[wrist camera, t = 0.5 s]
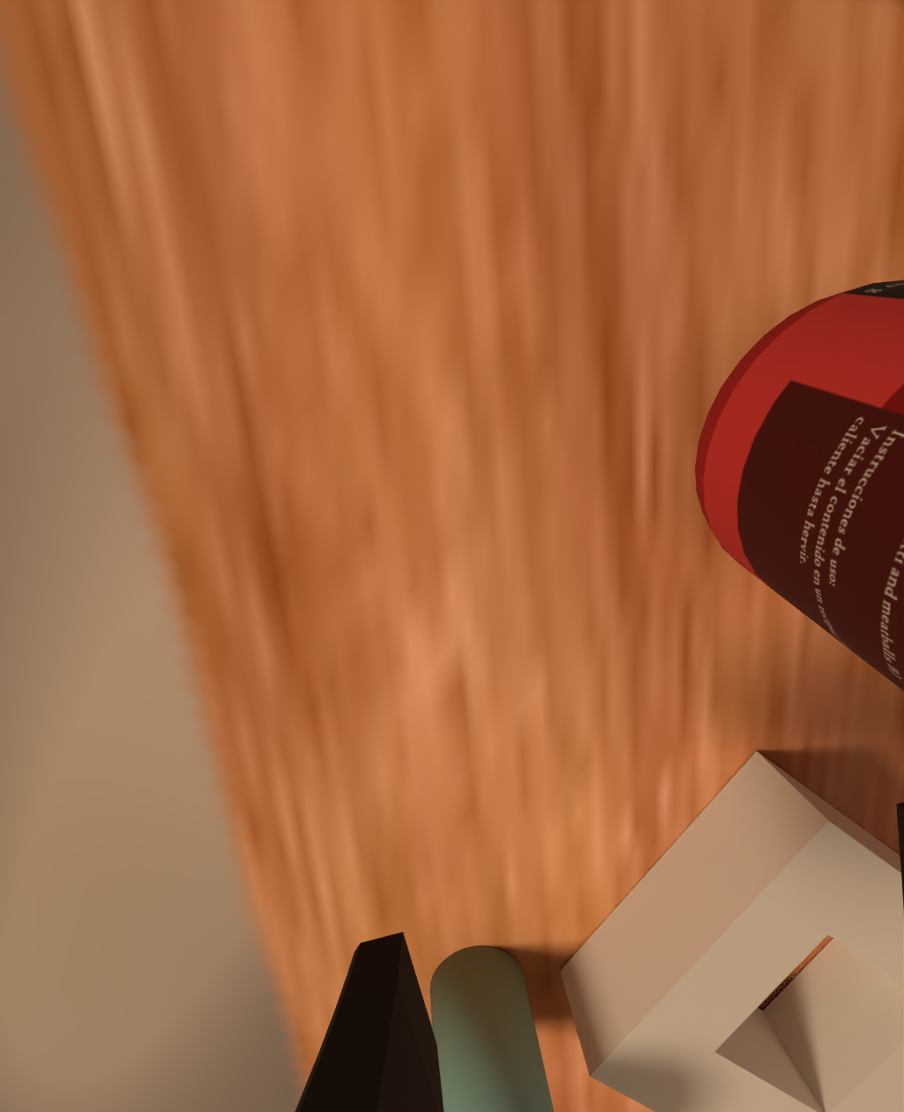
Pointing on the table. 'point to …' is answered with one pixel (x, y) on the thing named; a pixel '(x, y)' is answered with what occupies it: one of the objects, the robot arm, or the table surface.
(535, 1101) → the peg
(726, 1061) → the socket block
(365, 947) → the robot arm
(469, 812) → the table surface
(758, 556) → the canned food
